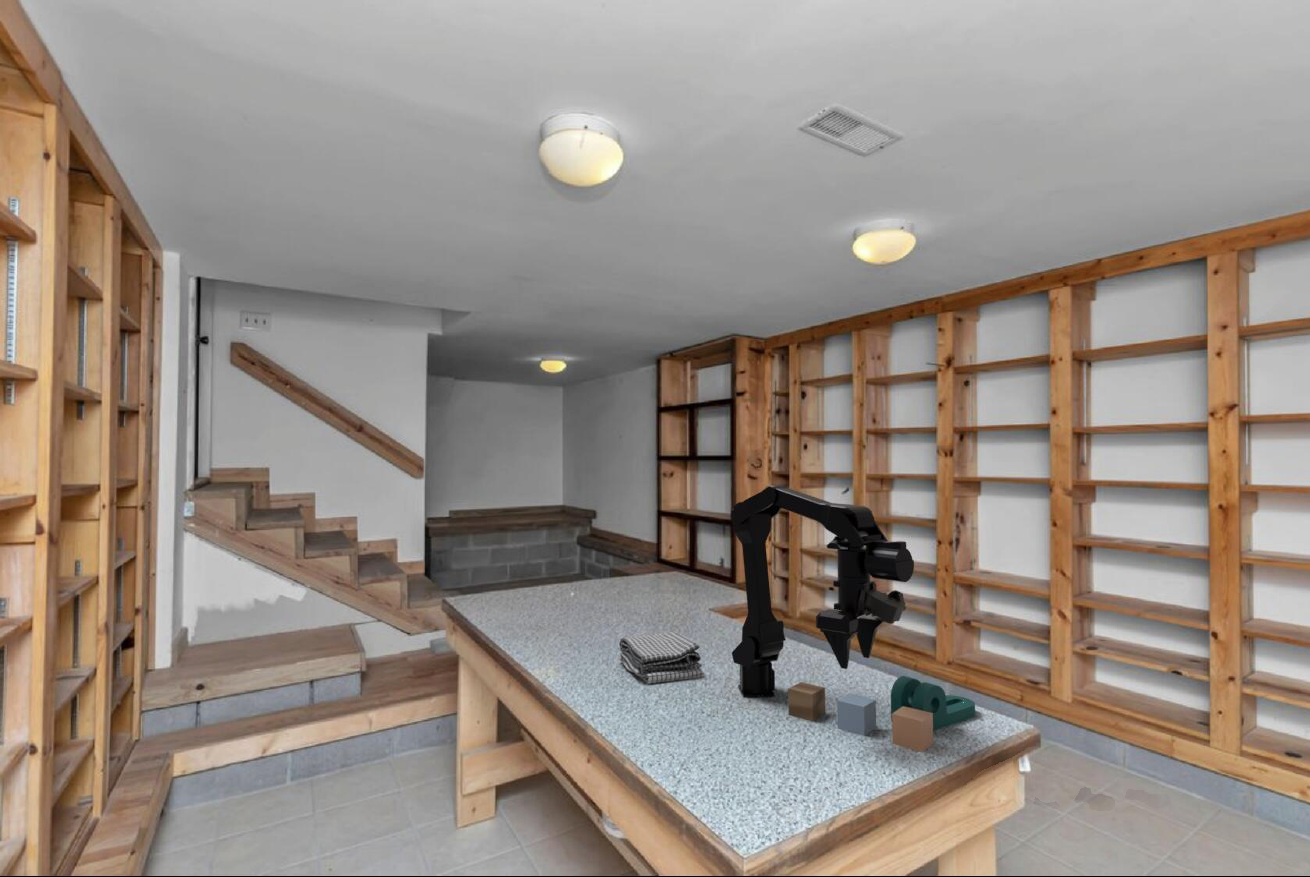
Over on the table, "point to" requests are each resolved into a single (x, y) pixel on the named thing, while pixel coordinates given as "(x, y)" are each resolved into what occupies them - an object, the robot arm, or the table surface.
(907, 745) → the terracotta cube
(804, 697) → the walnut cube
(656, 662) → the towel
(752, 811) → the table surface
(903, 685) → the bracket
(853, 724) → the blue cube
